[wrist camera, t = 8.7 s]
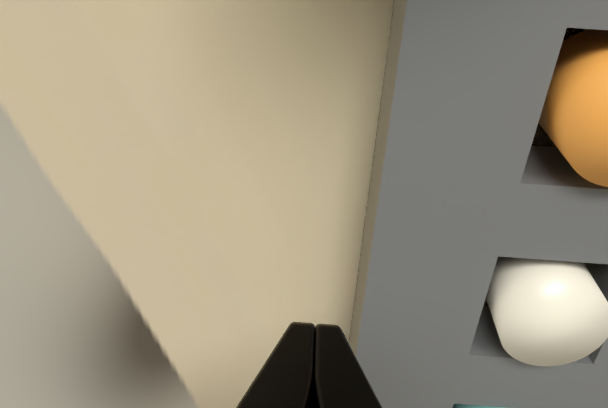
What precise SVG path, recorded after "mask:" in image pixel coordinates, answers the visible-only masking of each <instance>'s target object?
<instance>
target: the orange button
mask: <svg viewBox="0 0 608 408" xmlns="http://www.w3.org/2000/svg"><path fill="white" fill-rule="evenodd" d="M538 123H539V124H540V126H541V127H542V128H543V130H544V131H545V132H546V133H547V135H548V136H549V137H550V139H551V140H552V141H553V143H554V144H555V145H556V147H557V148H558V149H559V151H560V152H561V153H562V154H563V156H564V157H565V158H566V160H567V161H568V162H569V164H570V165H571V166H572V168H573V169H574V170H575V171H576V172H577V173H578V174H579V175H580V176H581V177H583V178H584V179H586V180H588V181H589V182H592V183H594V184H597V185H601V186H605V187H608V30H596V29H590V30H586V31H583V32H580V33H578V34H576V35H574V36H572V37H570V38H568V39H566V40H565V41H563V42H562V46H561V49H560V52H559V56H558V59H557V62H556V65H555V69H554V72H553V75H552V79H551V82H550V85H549V89H548V92H547V95H546V99H545V102H544V105H543V109H542V112H541V115H540V119H539V122H538Z"/></svg>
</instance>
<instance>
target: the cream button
mask: <svg viewBox="0 0 608 408" xmlns="http://www.w3.org/2000/svg"><path fill="white" fill-rule="evenodd" d="M486 300H487V303H488V306H489V309H490V312H491V315H492V318H493V321H494V324H495V327H496V329H497V332H498V335H499V338H500V341H501V344H502V346H503V348H504V349H505V351H506V352H507V353H508V354H509V355H510V356H512V357H513V358H515V359H516V360H518V361H520V362H523V363H526V364H530V365H535V366H557V365H563V364H568V363H571V362H574V361H577V360H579V359H582V358H584V357H586V356H587V355H589V354H591V353H592V352H594V351H595V350H596V349H598V348H599V347H600V346H601V345H602V344H603V343H604V342H605V340H606V339H607V338H608V302H607V300H606V298H605V297H604V295H603V293H602V292H601V290H600V289H599V287H598V285H597V284H596V282H595V280H594V279H593V277H592V275H591V274H590V272H589V271H588V269H587V267H586V266H585V264H584V263H583V262H569V261H554V260H540V259H526V258H512V257H498V259H497V262H496V265H495V269H494V272H493V275H492V279H491V282H490V285H489V289H488V292H487V295H486Z"/></svg>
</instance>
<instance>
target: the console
mask: <svg viewBox="0 0 608 408" xmlns="http://www.w3.org/2000/svg"><path fill="white" fill-rule="evenodd" d="M567 28H581V29H596V30H608V0H394V6H393V14H392V21H391V29H390V36H389V44H388V52H387V59H386V67H385V74H384V82H383V89H382V97H381V104H380V112H379V119H378V127H377V135H376V142H375V150H374V157H373V165H372V172H371V180H370V187H369V195H368V202H367V210H366V217H365V225H364V233H363V240H362V248H361V255H360V263H359V270H358V278H357V285H356V293H355V300H354V308H353V315H352V323H351V331H350V338H349V345H350V347H351V349H352V351H353V353H354V355H355V357H356V358H357V360H358V362H359V364H360V366H361V368H362V370H363V372H364V374H365V376H366V378H367V379H368V381H369V383H370V385H371V387H372V389H373V391H374V393H375V395H376V397H377V399H378V400H379V402H380V404H381V406H382V408H453V405H454V404H467V405H480V406H494V407H507V408H608V338H607V339H606V340H605V342H604V343H603V344H602V345H601V346H600V347H599V348H598V349H596V350H595V351H594V352H592V353H591V354H589V355H587V356H586V357H584V358H582V359H579V360H577V361H574V362H571V363H568V364H563V365H557V366H535V365H530V364H526V363H523V362H520V361H518V360H516V359H515V358H513V357H512V356H510V355H509V354H508V353H507V352H506V351H505V349H504V348H503V346H502V344H501V341H500V338H499V335H498V332H497V329H496V327H495V324H494V321H493V318H492V315H491V312H490V309H489V307H488V306H483V305H484V302H485V299H486V295H487V292H488V289H489V285H490V282H491V279H492V275H493V272H494V269H495V265H496V262H497V259H498V257H512V258H526V259H540V260H554V261H569V262H583V263H587V265H586V267H587V269H588V271H589V272H590V274H591V275H592V277H593V279H594V280H595V282H596V284H597V285H598V287H599V289H600V290H601V292H602V293H603V295H604V297H605V298H606V300H607V302H608V187H605V186H601V185H597V184H594V183H592V182H589V181H588V180H586V179H584V178H583V177H581V176H580V175H579V174H578V173H577V172H576V171H575V170H574V169H573V168H572V166H571V165H570V164H569V162H568V161H567V160H566V158H565V157H564V156H563V154H562V153H561V152H560V151H559V149H558V148H557V147H547V146H532V142H533V139H534V135H535V132H536V129H537V125H538V122H539V119H540V115H541V112H542V109H543V105H544V102H545V99H546V95H547V92H548V89H549V85H550V82H551V79H552V75H553V72H554V69H555V65H556V62H557V59H558V56H559V52H560V49H561V46H562V42H563V39H564V36H565V32H566V29H567Z"/></svg>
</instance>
